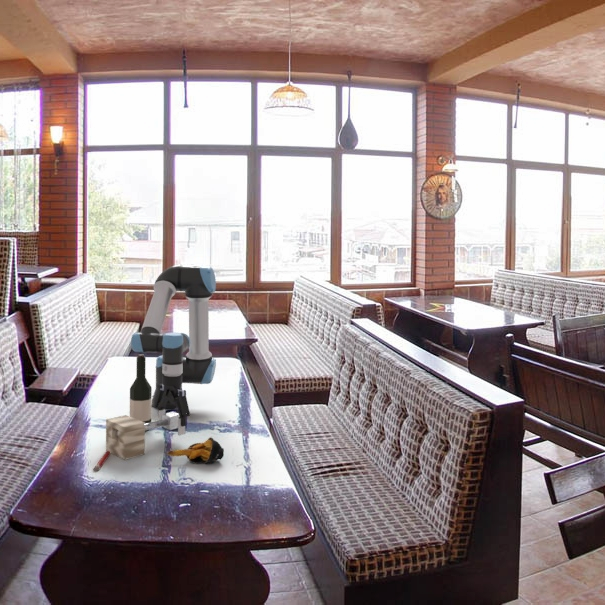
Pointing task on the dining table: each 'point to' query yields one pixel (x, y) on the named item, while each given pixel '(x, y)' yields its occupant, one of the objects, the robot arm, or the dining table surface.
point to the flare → (101, 461)
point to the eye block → (125, 437)
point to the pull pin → (163, 422)
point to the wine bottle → (141, 394)
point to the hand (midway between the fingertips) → (171, 430)
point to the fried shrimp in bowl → (201, 452)
